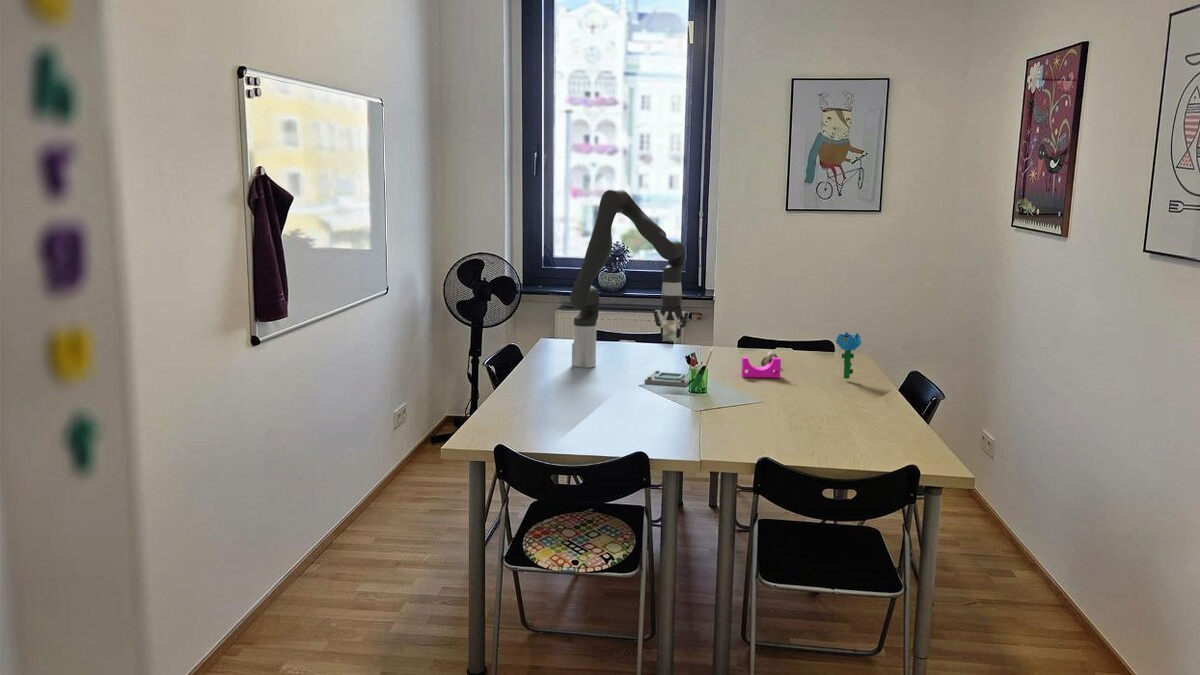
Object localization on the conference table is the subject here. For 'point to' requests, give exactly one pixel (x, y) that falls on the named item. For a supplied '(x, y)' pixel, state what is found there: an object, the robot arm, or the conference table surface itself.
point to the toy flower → (848, 350)
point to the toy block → (761, 369)
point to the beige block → (669, 330)
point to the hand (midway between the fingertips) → (670, 337)
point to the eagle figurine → (768, 358)
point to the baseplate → (667, 379)
